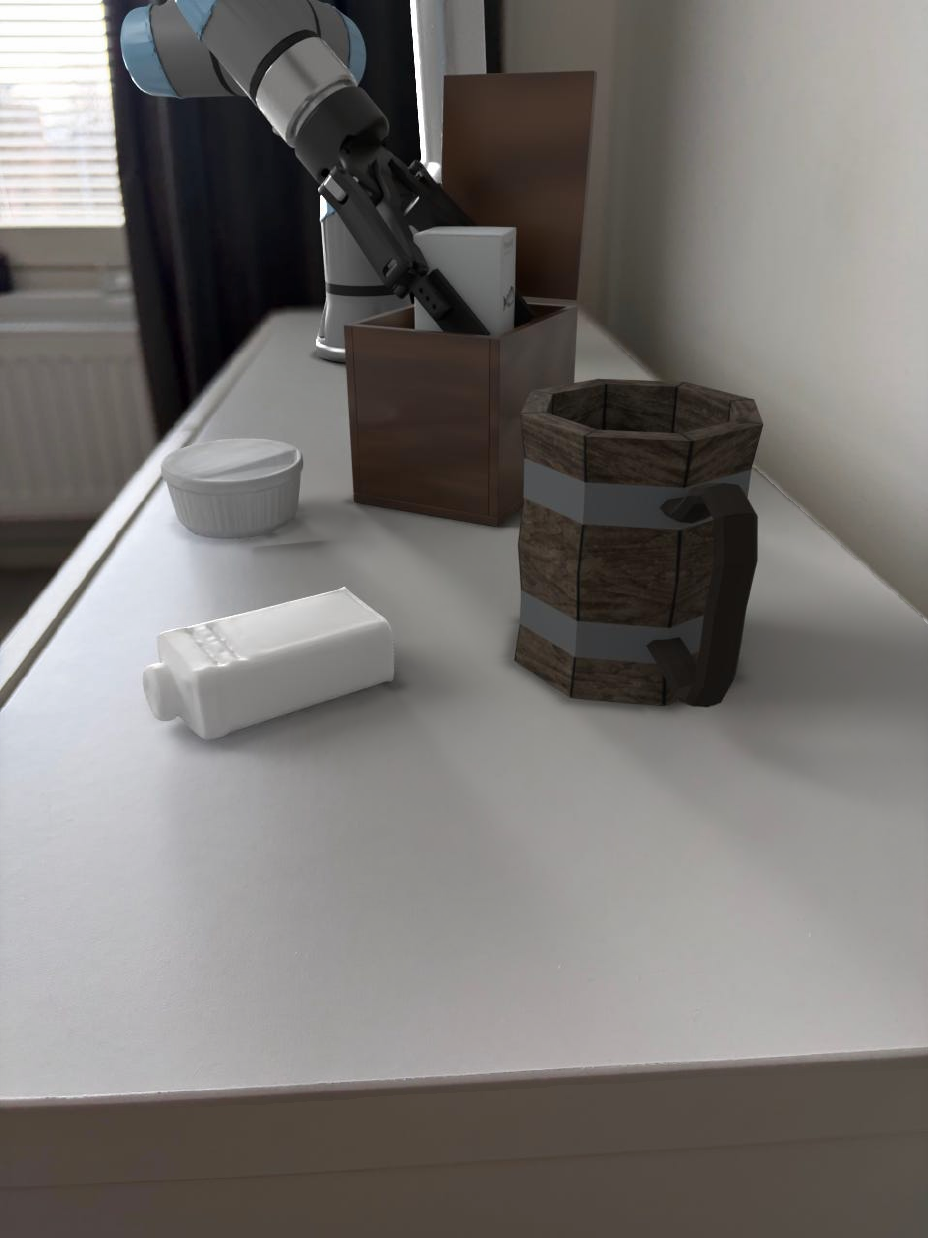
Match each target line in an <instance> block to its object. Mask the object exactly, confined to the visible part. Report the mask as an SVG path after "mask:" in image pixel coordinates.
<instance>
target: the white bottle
mask: <svg viewBox="0 0 928 1238" xmlns="http://www.w3.org/2000/svg"><path fill="white" fill-rule="evenodd" d="M393 638H394V635H393V630H392V627H391V625H390V623H389V621H388V620H387V619H386V618H385V617H384V616H383V615H381V614H379V613H378V612H377V611H376V610H374V609H373V608H372V607H371V606H369V605H368V604H366V603H365V601H363V600H361V598H359V597H357V595H355V594H354V593H352V591H351V590H349V589H348V588H347V587H346V586H343V587H341V588H339V589H334V590H330V591H326V592H323V593H318V594H314V595H311V596H306V597H301V598H299V599H295V600H290V601H286V602H282V603H279V604H275V605H271V606H266V607H262V608H259V609H255V610H251V611H245V612H242V613H239V614H235V615H230V616H226V617H222V618H218V619H214V620H210V621H206V622H202V623H197V624H193V625H190V626H189V625H188V626H185V627H177V628H173V629H169V630H165V631H162V632H160V633H158V634H157V636H156V646H157V653H158V659H159V660H158V661H159V662H156V663H153V664H149V665H147V666H146V667H145V668H144V669H143V672H142V688H143V692H144V696H145V700H146V702H147V705H148V708H149V710H150V712H151V713H152V715H153V718H155V719H157V720H159V721H162V722H171V721H174V720H175V719H176V718H177V717H178V718H180V719H181V720H182V721H183V722H184V723H185V724H186V725H187V726H188V728H190V729H191V730H192V731H193V732H194V733H195V734H196V735H197V736H198V737H199V738H201V739H202V740H204V741H210V740H211V741H212V740H214V739H220V738H223V737H225V736H226V735H228V734H229V733H231V732H235V731H238V730H242V729H245V728H248V727H251V726H254V725H257V724H261V723H263V722H267V721H269V720H273V719H276V718H278V717H281V716H284V715H288V714H290V713H294V712H297V711H300V710H302V709H306V708H309V707H312V706H316V705H319V704H321V703H325V702H328V701H332V700H335V699H338V698H341V697H344V696H346V695H351V694H353V693H355V692H358V691H363V690H365V689H368V688H370V687H374V686H378V685H379V684H382V683H386V682H387V683H388V682H390V683H391V682H393V680H394V676H395V667H394V666H395V659H394V658H395V655H394V653H395V652H394V639H393Z"/></svg>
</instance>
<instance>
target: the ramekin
mask: <svg viewBox="0 0 928 1238" xmlns="http://www.w3.org/2000/svg"><path fill="white" fill-rule="evenodd" d="M303 469H304V456H303V453H302V452H301V451H300V450H299V449H298V448H297V447H295V446H294V445H292V444H289V443H287V442H282V441H278V440H274V439H273V440H272V439H267V438H265V439H263V438H225V439H216V440H210V441H205V442H199V443H195V444H190V445H188V446H184V447H182V448H178V449H176V450H175V449H174V451H171V452H169V453H168V454H166V455H165V457H164V458H163V459H162V460H161V462H160V473H161V477H162V479H163V480H164V481H165V482H166V486H167V488H168V492H169V495H170V499H171V502H172V506H173V509H174V512H175V515H176V517H177V520H178V522H179V523H180V524H181V525H182V526H183V527H185V528H186V529H187V531H189V532H191V533H193V534H194V535H198V536H201V537H205V538H211V539H221V540H222V539H223V540H230V539H232V540H233V539H234V540H235V539H247V538H248V539H249V538H253V537H259V536H263V535H267V534H271V533H274V532H277V531H278V530H280V529H282V528H284V527H285V526H286V525H288V524H289V523H290V522H291V521H292V520H293V518H294V517H295V515H296V514H297V511H298V509H299V505H300V504H299V502H300V490H301V478H302V477H301V476H302V471H303Z"/></svg>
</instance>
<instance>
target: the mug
mask: <svg viewBox="0 0 928 1238" xmlns="http://www.w3.org/2000/svg"><path fill="white" fill-rule="evenodd" d="M520 417H521V427H522V438H523V448H524V496H523V506H522V508H521V516H520V523H519V531H518V541H517V553H518V568H519V569H518V571H519V584H520V603H519V604H520V605H519V606H520V608H519V609H520V610H519V627H518V634H517V640H516V647H515V652H514V659H513V661H514V662H516V663H517V664H519V665H520V666H522V667H523V668H525V669H526V670H528V671H529V672H531V673H533V674H534V675H536V676H537V677H538V678H540V679H542V680H543V681H545V682H546V683H547V684H549V685H551V686H552V687H554V688H555V689H557V690H558V691H560V692H561V693H563V694H565V695H566V696H568V697H569V698H573V699H584V700H594V701H595V700H596V701H605V702H606V701H607V702H617V703H630V704H641V705H652V706H663V707H665V706H667V705H669V704H671V703H674V702H676V701H678V702H680V703H682V704H685V705H688V706H690V707H695V708H710V707H713V706H716V705H718V704H721V703H722V702H723V700H724V698H725V697H726V695H727V693H728V692H729V690H730V687H731V686H732V684H733V683H734V680H735V677H736V674H737V669H738V663H739V659H740V653H741V649H742V648H741V647H742V646H741V645H742V642H743V634H744V628H745V622H746V616H747V608H748V604H749V600H750V597H751V596H750V595H751V591H752V586H753V582H754V578H755V573H756V569H757V566H758V561H759V560H758V559H759V558H758V557H759V553H758V552H759V549H758V547H759V529H758V528H759V516H758V514H757V512H756V511H755V509H754V506H753V505H752V504H751V502H750V500H749V491H750V483H751V478H752V477H751V476H752V469H753V465H754V461H755V458H756V455H757V450H758V446H759V443H760V439H761V435H762V432H763V428H764V423H763V420H762V417H761V413H760V411H759V408H758V406H757V402H756V400H755V399H754V398H751V397H746V396H742V395H738V394H735V393H730V392H727V391H723V390H719V389H715V388H712V387H708V386H703V385H699V384H695V383H691V382H689V381H688V382H687V381H676V380H675V381H672V380H647V379H646V380H643V379H620V378H617V379H616V378H593V379H588V380H584V381H583V380H582V381H577V382H574V383H571V384H566V385H560V386H555V387H549V388H544V389H538V390H533V391H531V392H530V394H529V397H528V399H527V401H526V403H525V405H524V407H523V409H522V411H521V413H520Z"/></svg>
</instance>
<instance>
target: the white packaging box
mask: <svg viewBox="0 0 928 1238" xmlns="http://www.w3.org/2000/svg"><path fill="white" fill-rule="evenodd" d="M413 241H414V243H415V244H416V245H417V246H418V247H419V248H420V250H421V252H422V254H423V256H424V258H425V260H426V262H427V264H428V266H429V271H428V272H427V274H428V275H429V274H430V273H431V272H432V271H433V270H434V269H439V271H440V272H441V273H442V274H443V275H444V277H445V278H446V279H447V280H448V282H449V283H450V284H451V285H452V287H453V288H454V289H455V290H456V291H457V293H458V294H459V295H460V296H461V298H462V299H463V300H464V301H465V303H466V304H467V305H468V306H469V307H470V309H471V310H472V311H473V312H474V314H475V315H476V316H477V317H478V319H479V320H480V321H481V322H482V323H483V325H484V326H485V327H486V328H487V330H488V331H489V332H490V333H491V334H490V335H489V336H494V337H495V336H497V335H500V334H502V333H504V332H507V331H509V330H512V329H514V310H515V260H516V228H515V227H433V228H431V229H428V230H425V231H422V232H419V233H417V234H414V235H413ZM413 296H414V295H413ZM414 304H415V329H418V330H429V331H441V332H443V331H442V329H441V328H440V327H439V326H438V325H437V323H436V322H435V321H434V320H433V318H432V317H431V316H430V315H429V314H428V312H427V311H426V310H425V309H424V307H423V306H422V305H421V304H420V302H419V301H418V300H417V299H416V298H415V296H414Z"/></svg>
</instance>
